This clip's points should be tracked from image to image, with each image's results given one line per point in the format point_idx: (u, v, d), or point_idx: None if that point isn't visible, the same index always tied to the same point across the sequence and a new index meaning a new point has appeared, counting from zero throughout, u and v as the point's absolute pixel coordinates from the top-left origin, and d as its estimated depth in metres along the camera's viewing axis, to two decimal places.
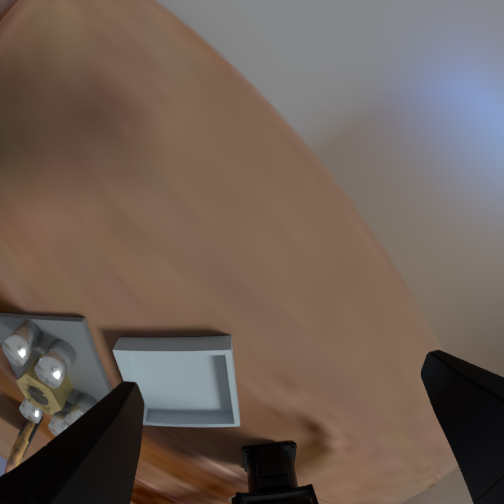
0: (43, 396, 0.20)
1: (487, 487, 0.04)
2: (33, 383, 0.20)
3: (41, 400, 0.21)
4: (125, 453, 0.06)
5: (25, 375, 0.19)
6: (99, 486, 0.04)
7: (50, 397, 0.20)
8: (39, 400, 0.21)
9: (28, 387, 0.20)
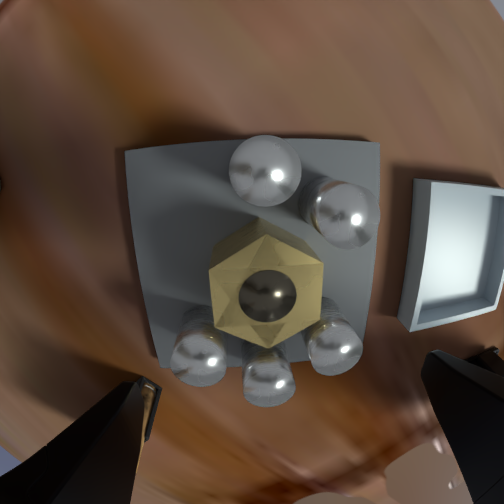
0: (287, 293, 0.13)
1: (488, 486, 0.04)
2: (276, 259, 0.13)
3: (269, 311, 0.13)
4: (125, 453, 0.06)
5: (260, 240, 0.12)
6: (99, 486, 0.04)
7: (309, 290, 0.13)
8: (262, 313, 0.13)
9: (249, 278, 0.13)
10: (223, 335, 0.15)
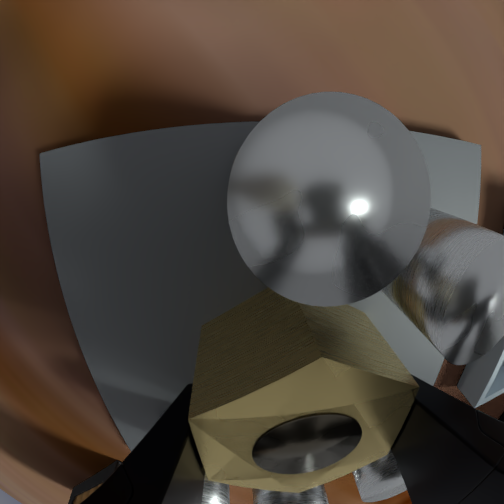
0: (346, 439, 0.06)
1: None
2: (337, 397, 0.05)
3: (308, 461, 0.06)
4: (199, 459, 0.06)
5: (307, 368, 0.05)
6: (183, 499, 0.04)
7: (383, 427, 0.06)
8: (295, 464, 0.06)
9: (275, 429, 0.05)
10: None
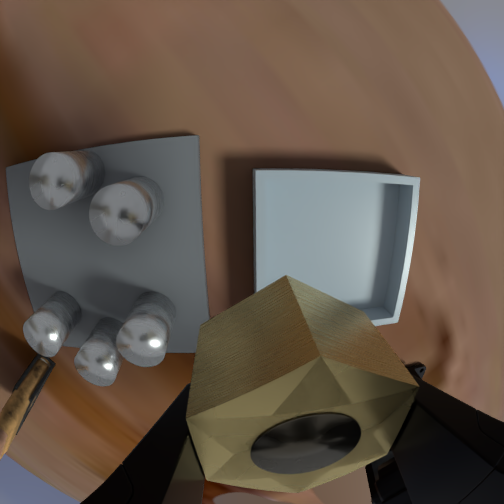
0: (345, 439, 0.05)
1: None
2: (335, 397, 0.05)
3: (307, 461, 0.06)
4: None
5: (305, 367, 0.05)
6: (183, 499, 0.04)
7: (382, 427, 0.06)
8: (294, 464, 0.06)
9: (273, 429, 0.05)
10: (65, 316, 0.16)
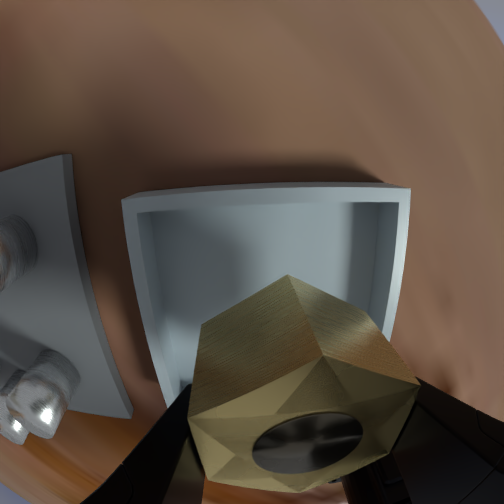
0: (347, 438, 0.05)
1: None
2: (338, 396, 0.05)
3: (309, 461, 0.06)
4: (199, 459, 0.06)
5: (308, 367, 0.05)
6: (183, 499, 0.04)
7: (384, 427, 0.06)
8: (296, 464, 0.06)
9: (275, 429, 0.05)
10: None
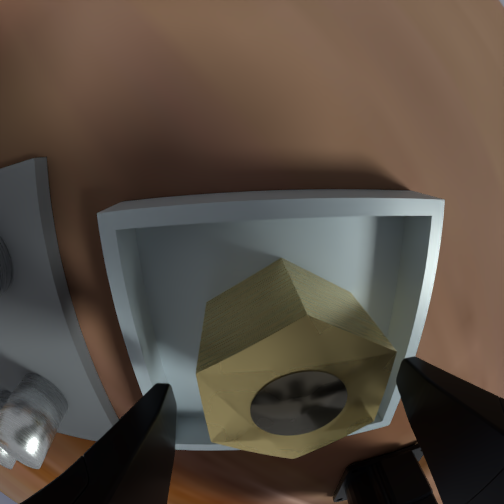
0: (333, 399, 0.07)
1: (462, 503, 0.04)
2: (322, 354, 0.06)
3: (300, 422, 0.07)
4: (162, 457, 0.06)
5: (295, 325, 0.06)
6: (141, 494, 0.04)
7: (367, 390, 0.07)
8: (289, 425, 0.07)
9: (270, 384, 0.06)
10: None
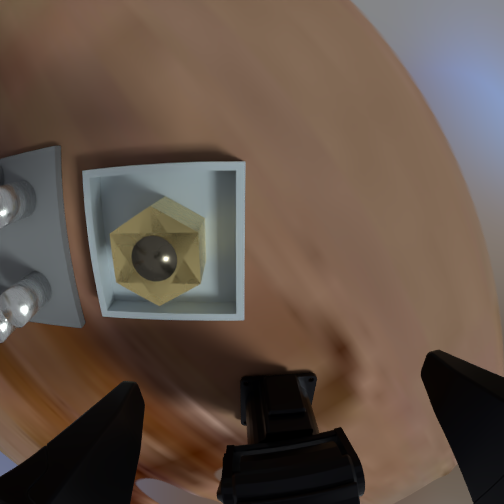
0: (169, 256, 0.15)
1: (488, 487, 0.04)
2: (159, 227, 0.15)
3: (156, 271, 0.16)
4: (125, 453, 0.06)
5: (146, 210, 0.14)
6: (99, 486, 0.04)
7: (187, 255, 0.15)
8: (151, 272, 0.16)
9: (138, 241, 0.15)
10: None
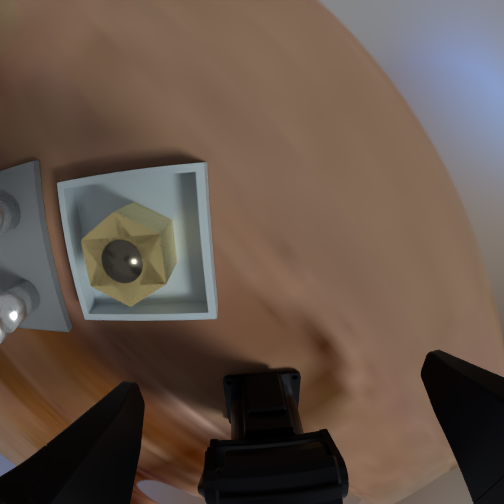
0: (135, 259, 0.15)
1: (488, 486, 0.04)
2: (123, 231, 0.15)
3: (125, 273, 0.16)
4: (125, 453, 0.06)
5: (111, 216, 0.15)
6: (99, 486, 0.04)
7: (151, 257, 0.16)
8: (120, 275, 0.16)
9: (106, 245, 0.15)
10: None
